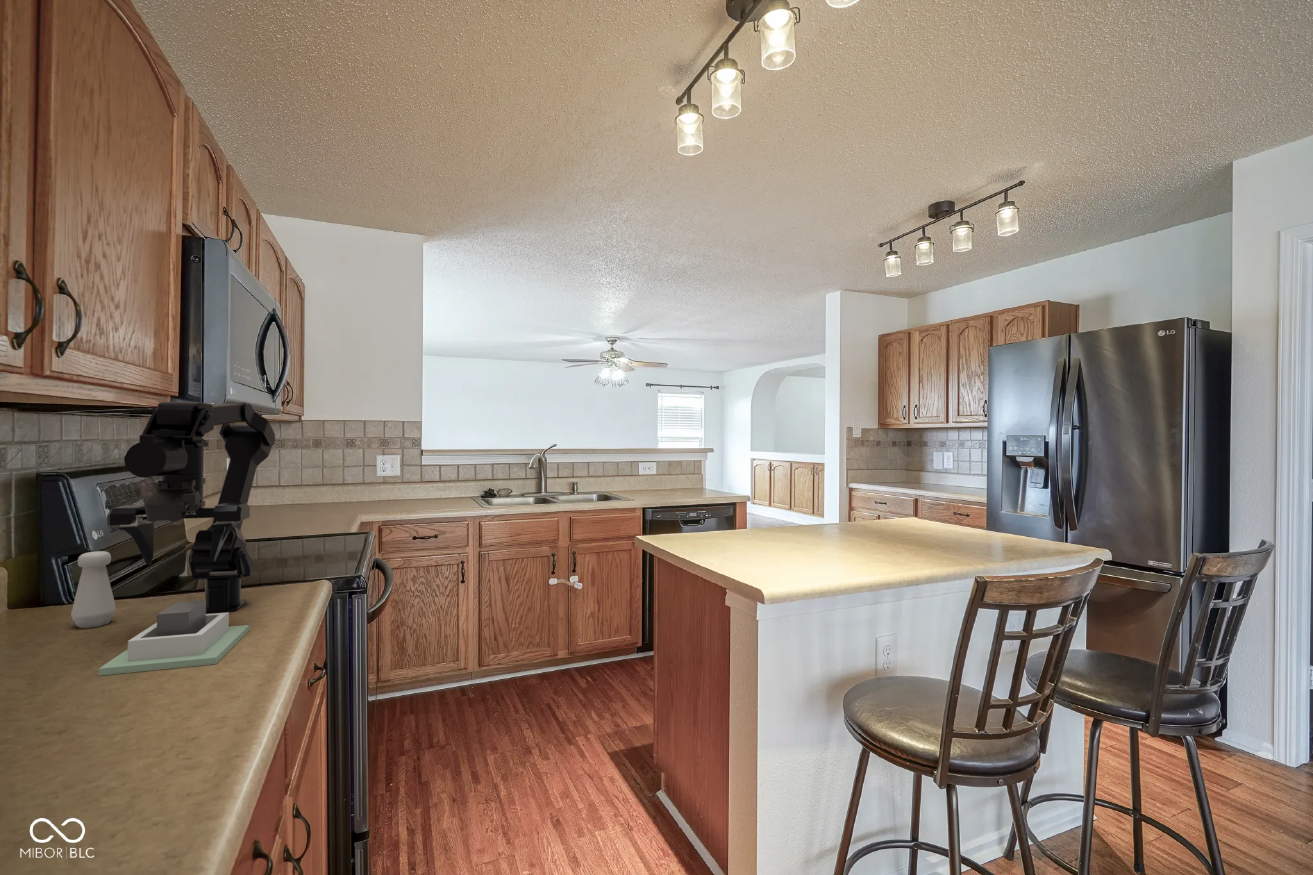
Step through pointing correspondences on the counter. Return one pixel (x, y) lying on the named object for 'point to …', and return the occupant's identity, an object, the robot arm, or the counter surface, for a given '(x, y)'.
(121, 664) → the deck plate
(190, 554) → the robot arm
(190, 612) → the chute block
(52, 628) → the counter surface
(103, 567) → the salt shaker
